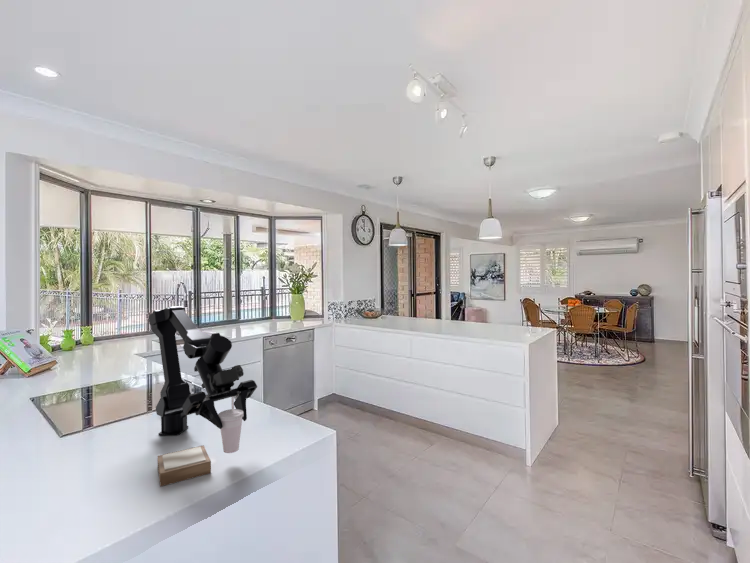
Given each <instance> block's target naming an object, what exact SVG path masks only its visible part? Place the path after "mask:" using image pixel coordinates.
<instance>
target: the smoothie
mask: <svg viewBox="0 0 750 563" xmlns="http://www.w3.org/2000/svg"><path fill="white" fill-rule="evenodd" d="M234 402H235V399H234V396H232V397H231V408H230V409H226V410H222V411H221V412H219V413H218V415H219V418H220V420H221V422H222V425H223V427H222V429H220V435H221V436H220V437H221V441H222V449H223V452H224V453H225V454H232V453H236V452H238V450H240V441H241V433H242V426H243V425H242V424H243V419H242V417H243V416H244V411H243V410H240V409H236V408H235V406H234Z"/></svg>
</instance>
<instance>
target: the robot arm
mask: <svg viewBox="0 0 750 563" xmlns="http://www.w3.org/2000/svg"><path fill="white" fill-rule="evenodd" d="M148 324H149V325H150V327H151V328H150V329H151V332H152V333H153V334H154V335H155V336H156V337H157V338H158V342H159V347H160V348H159V350H160V357H161V363H162V372H163V379H164V382H165V384H164V386H163V385H162V389H161V390H160V393H159V394H160V399H159V401H158V402H157V404H156V406H155V412H156V415H157V416H159V417H160V421H161V422H160V423H161V424H160V426H161V429H160V430H161V431H160V432H158V434H157V435H158V436H178V435H180V434H182V433H184V432H185V430H187V429H188V428H189V425H188V415H193V414H195V415H196V416H200V417H202V418H204V419H205V420H206V421H207V420H208V422H211V423H212V424H213V425H214V426H215V427H217V429H220V430H221V429H222V427H223V425H222V422H221V420H220V418H219V415H218V414H219V413H218V411H217V409H216V406H215V402H219V401H221V400H224V399H229V398H232V396H234V409H240V410H243V411H244V416H243V417H242V421H243V422H246V421H247V418H248V415H247V399H249V398H250V397H252V396H253V394H254V392H255V391H256V389H257V388H258V385H257V383H256V381H255V380H253V379H249V380H245V381H241V382H240V383H239V385H238V386H237V387H236V388H232V387H234V385H235V382H236V381H239V380H240V378H242V377H243V376H244V374H245V373H244V369H243V367H242V365H241V364H237V365H234V366H232V367H231V368H230V369H223V368H222V366H221V364H222V363H223V362H224V361H225V359H226V358H227V356H228V354H229V353H230V351H231V350H232V347H233V343H232V341H231V340H230V339H229V338H228V337H227V336H226V337H225V336H222V335H221V334H220V332H216V333H214V332H213V333H211V335H210V334H209V333H207V332H206V331H202V330H200V329H199V328H198V327H197V326H196V324H195V323H194V322H193V320H192V319H191V318H190V316H189V315H188V313H187V312H186V308H185V306H182V305H181V306H178V305H177V306H168V307H165V308H163V309H159V310H156V309H155V310H152V313H150V314H149V315H148ZM177 333H178V335H179V336H180V338H181V339H182V340H183V342H184V343H183V346H182V348H183V351H184V352H183V353H184V354H185V356H186V357H187V358H188V359H197V358H198V359H197V361H196V362H195V365H194V368H193V370H194V373H195V372H198V374H199V377H200V380H201V381H202V384H201V388H202V389H205V391H206V392H204V391H198V392H195V393H192V392H191V391H190V384H189V383H188V382H186V381H184V380H183V379H182V374H181V373H182V372H181V366H180V359H179V352H178V345H177V338H176V334H177Z"/></svg>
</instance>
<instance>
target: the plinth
mask: <svg viewBox="0 0 750 563" xmlns="http://www.w3.org/2000/svg"><path fill="white" fill-rule="evenodd" d="M211 463H212V462H211V458H210V457H209V454H208V452H207V449H206V447H205V445H199V446H196V447H191V448H190V447H189V448H186V449H182V450H177V451H176V450H175V451H172V452H168V453H163V454H160V455H157V472H158V477H159V478H158V479H159V485H160V487H163V486H164V487H165V486H167V485H171V484H174V483H176V484H177V483H179V482H183V481H187V480H189V479H194V478H198V477H202V476H205V475H210V474H211V473H212V464H211Z"/></svg>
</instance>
